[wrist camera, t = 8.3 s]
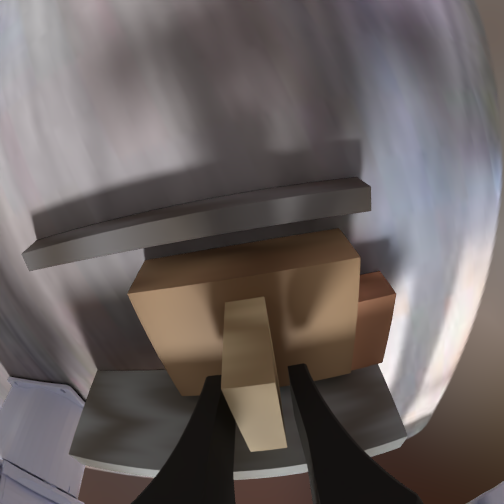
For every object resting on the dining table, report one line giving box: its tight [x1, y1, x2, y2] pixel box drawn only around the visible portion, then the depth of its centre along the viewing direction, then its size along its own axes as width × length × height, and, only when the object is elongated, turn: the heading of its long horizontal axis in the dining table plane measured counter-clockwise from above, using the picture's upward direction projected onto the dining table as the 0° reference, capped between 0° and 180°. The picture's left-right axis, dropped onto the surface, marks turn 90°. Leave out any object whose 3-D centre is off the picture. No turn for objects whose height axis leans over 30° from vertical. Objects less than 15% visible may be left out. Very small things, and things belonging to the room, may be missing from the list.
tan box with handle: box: [128, 228, 360, 452], centre depth 12 cm, size 9×7×7 cm
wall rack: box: [22, 177, 407, 480], centre depth 11 cm, size 18×12×7 cm, turn 99°
